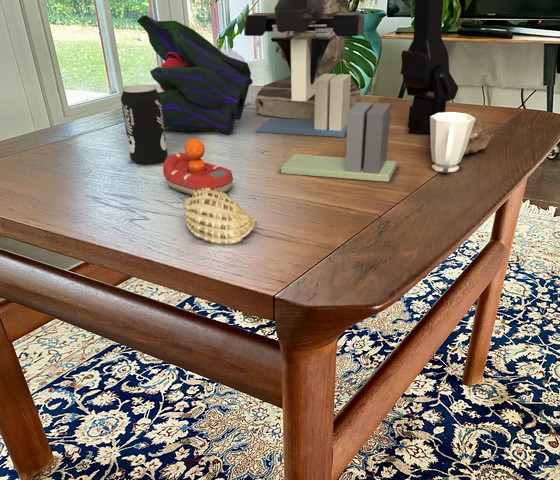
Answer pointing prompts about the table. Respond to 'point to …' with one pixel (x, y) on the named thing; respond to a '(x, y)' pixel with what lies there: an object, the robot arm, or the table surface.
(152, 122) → the beverage can
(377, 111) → the green base board
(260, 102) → the sculpture
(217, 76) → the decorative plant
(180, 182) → the toy boat
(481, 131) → the rock
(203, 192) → the seashell
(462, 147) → the cup
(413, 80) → the robot arm
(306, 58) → the white box
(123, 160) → the table surface
